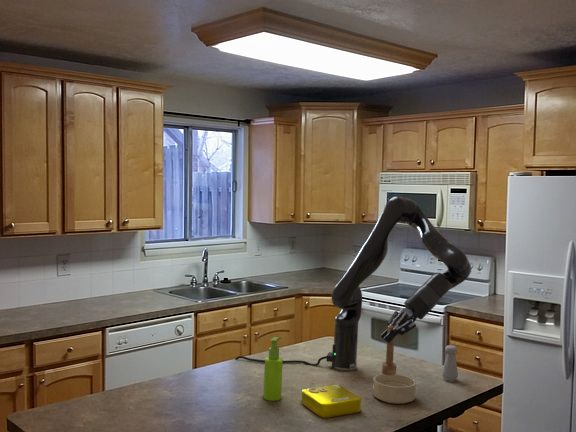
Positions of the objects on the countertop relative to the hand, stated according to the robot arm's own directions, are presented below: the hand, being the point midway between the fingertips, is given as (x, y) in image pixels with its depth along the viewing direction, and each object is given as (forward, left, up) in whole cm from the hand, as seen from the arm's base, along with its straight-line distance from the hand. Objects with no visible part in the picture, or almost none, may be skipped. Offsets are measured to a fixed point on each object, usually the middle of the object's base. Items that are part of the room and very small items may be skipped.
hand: (384, 339), depth 185 cm
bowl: (+3, +15, -24) cm, 28 cm away
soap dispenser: (-36, +2, -24) cm, 43 cm away
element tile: (-16, 0, -24) cm, 29 cm away
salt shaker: (+22, +41, -24) cm, 53 cm away
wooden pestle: (+2, +1, -11) cm, 11 cm away
